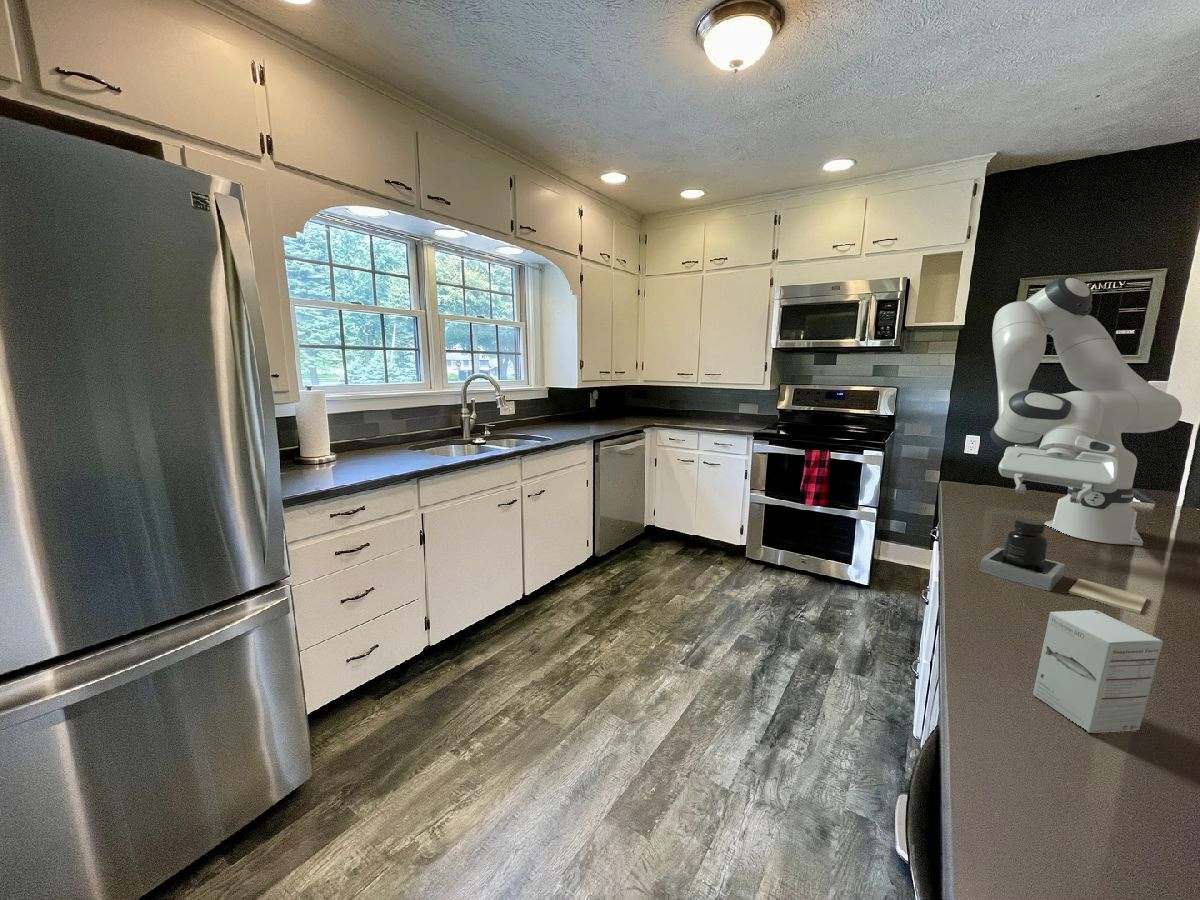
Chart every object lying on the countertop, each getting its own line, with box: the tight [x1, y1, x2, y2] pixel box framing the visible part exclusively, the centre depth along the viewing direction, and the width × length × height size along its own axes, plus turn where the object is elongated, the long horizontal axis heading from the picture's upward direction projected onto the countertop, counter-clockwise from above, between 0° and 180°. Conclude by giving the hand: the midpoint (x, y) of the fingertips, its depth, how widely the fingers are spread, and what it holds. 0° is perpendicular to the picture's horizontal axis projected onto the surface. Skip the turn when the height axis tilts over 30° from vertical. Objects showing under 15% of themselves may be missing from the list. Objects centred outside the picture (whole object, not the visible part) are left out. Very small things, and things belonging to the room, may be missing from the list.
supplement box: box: [1032, 609, 1164, 732], centre depth 61 cm, size 7×7×13 cm
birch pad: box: [1067, 578, 1148, 615], centre depth 94 cm, size 10×10×1 cm
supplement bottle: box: [1001, 518, 1049, 574], centre depth 103 cm, size 7×7×12 cm
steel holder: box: [979, 546, 1066, 592], centre depth 104 cm, size 12×12×3 cm
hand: (1046, 496), depth 108 cm, fingers open, 8 cm apart
